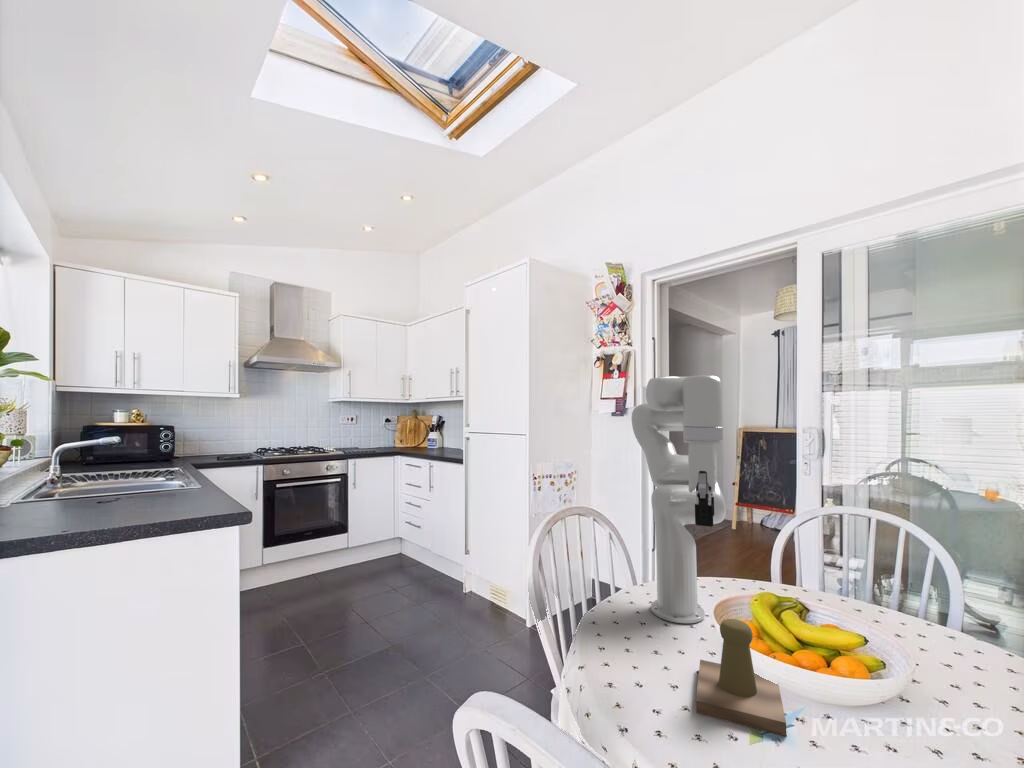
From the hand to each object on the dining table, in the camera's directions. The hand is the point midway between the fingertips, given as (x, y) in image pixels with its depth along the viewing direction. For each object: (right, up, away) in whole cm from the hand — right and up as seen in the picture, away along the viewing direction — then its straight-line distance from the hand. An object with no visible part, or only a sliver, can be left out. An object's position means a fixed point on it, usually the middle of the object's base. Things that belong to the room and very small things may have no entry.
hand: (705, 520), depth 92 cm
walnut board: (0, -28, -13) cm, 30 cm away
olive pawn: (0, -26, -12) cm, 29 cm away
